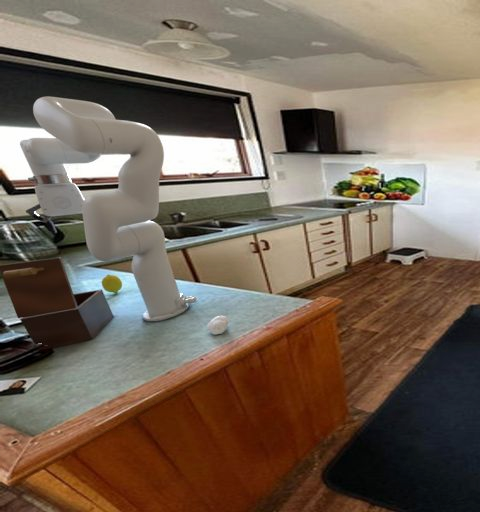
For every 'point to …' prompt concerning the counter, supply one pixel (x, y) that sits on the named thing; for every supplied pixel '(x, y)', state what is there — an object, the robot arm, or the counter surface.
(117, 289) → the lemon
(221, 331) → the dumpling
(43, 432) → the counter surface
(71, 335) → the box
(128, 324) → the counter surface
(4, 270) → the lid
